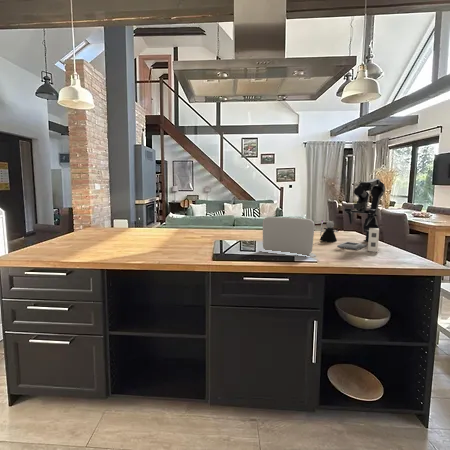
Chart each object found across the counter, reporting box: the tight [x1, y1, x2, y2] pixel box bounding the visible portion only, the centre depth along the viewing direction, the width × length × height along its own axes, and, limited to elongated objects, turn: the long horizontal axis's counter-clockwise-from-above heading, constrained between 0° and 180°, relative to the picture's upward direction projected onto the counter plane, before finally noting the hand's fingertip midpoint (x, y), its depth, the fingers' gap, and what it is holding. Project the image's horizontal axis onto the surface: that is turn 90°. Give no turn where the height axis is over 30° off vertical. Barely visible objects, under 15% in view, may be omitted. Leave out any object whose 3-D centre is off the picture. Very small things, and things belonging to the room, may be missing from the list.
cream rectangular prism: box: [367, 227, 380, 253], centre depth 189 cm, size 5×5×13 cm
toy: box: [319, 220, 339, 243], centre depth 216 cm, size 12×7×15 cm, turn 84°
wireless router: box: [262, 216, 317, 258], centre depth 178 cm, size 31×10×20 cm, turn 65°
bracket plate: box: [337, 241, 368, 251], centre depth 201 cm, size 17×12×2 cm
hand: (358, 225), depth 199 cm, fingers open, 9 cm apart
